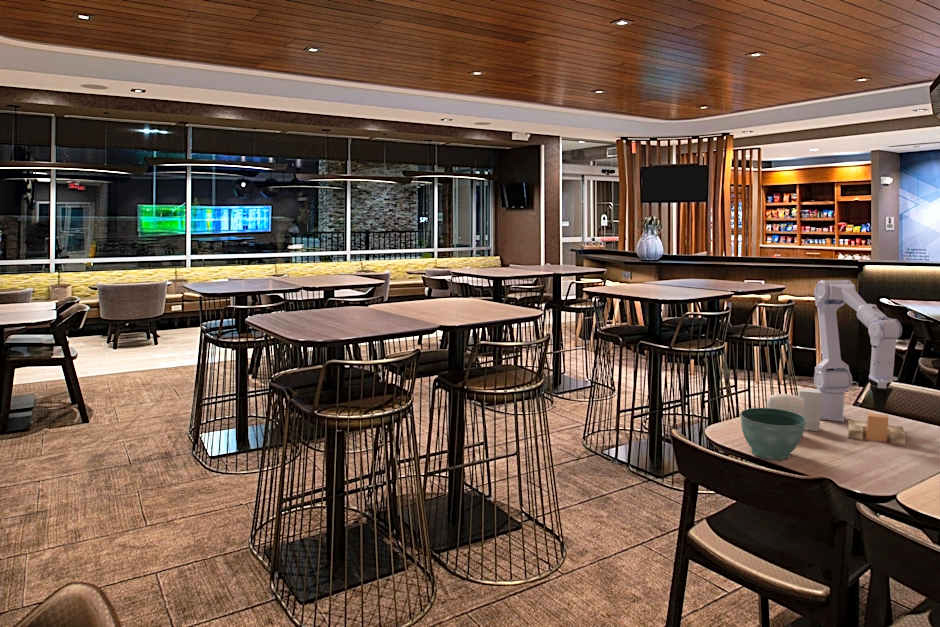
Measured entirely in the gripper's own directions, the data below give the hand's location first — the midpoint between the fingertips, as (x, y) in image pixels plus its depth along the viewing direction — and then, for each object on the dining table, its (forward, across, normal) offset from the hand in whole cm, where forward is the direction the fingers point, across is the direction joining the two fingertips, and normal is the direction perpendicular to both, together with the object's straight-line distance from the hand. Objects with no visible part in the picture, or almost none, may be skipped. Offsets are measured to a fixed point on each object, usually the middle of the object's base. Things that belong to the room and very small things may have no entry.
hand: (878, 407), depth 200 cm
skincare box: (+10, +2, +18) cm, 20 cm away
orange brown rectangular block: (+10, 0, 0) cm, 10 cm away
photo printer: (+10, -8, +24) cm, 27 cm away
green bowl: (+10, -28, +26) cm, 40 cm away
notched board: (+9, +2, 0) cm, 10 cm away
